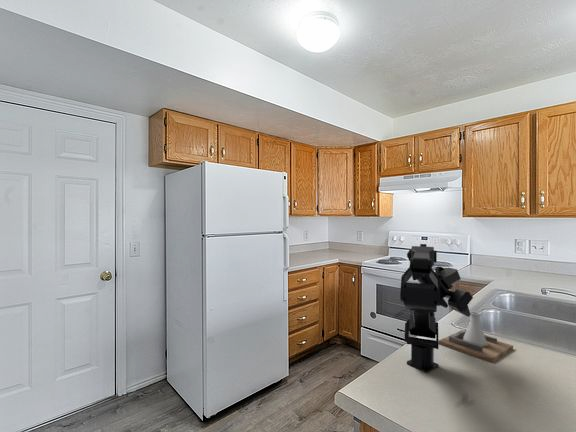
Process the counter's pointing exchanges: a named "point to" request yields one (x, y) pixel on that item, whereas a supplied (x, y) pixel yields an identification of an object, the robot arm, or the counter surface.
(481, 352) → the board
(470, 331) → the flask
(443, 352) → the counter surface
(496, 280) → the counter surface
